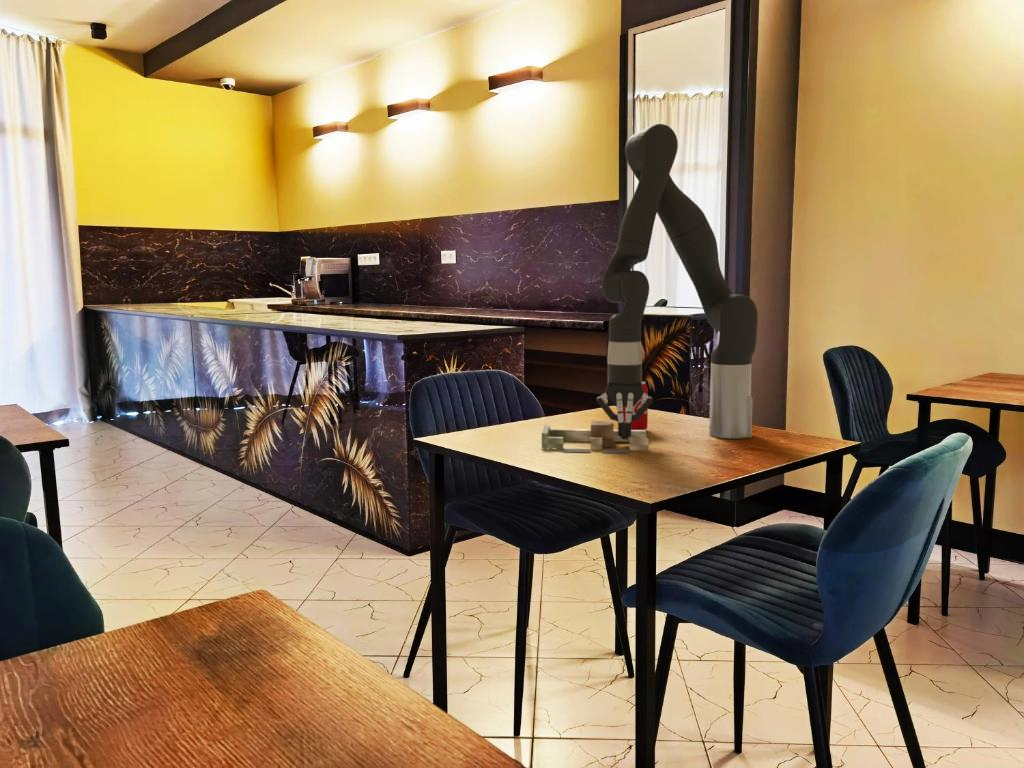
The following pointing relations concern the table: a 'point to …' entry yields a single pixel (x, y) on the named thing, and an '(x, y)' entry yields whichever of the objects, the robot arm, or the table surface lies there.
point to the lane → (589, 438)
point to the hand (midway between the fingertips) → (624, 438)
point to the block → (603, 432)
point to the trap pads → (602, 450)
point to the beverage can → (642, 421)
